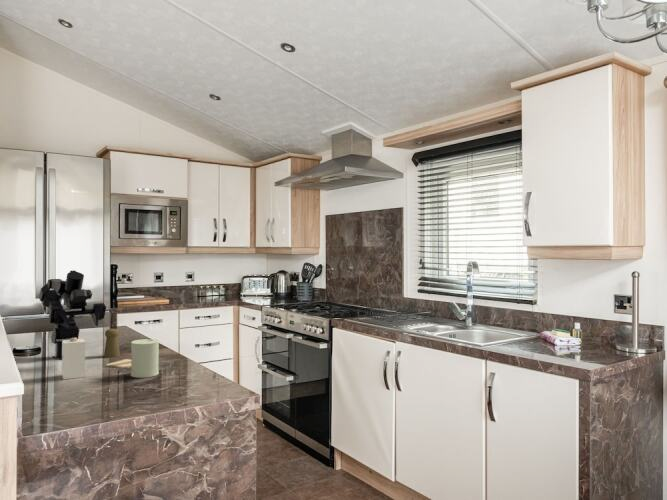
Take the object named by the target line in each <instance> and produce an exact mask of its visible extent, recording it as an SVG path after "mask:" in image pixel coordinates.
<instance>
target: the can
mask: <svg viewBox="0 0 667 500" xmlns="http://www.w3.org/2000/svg"><path fill="white" fill-rule="evenodd" d="M130 344H131V348H130V351H131V352H130V353H131V355H130V357H131V358H130V359H131V370H130V376H131V377H132V378H137V379H138V378H139V379H141V378H142V379H143V378H152V377H156V376H158V375H159V374H160V372H159V371H160V370H159V355H160V354H159V353H160V351H159V346H160V345H159V344H160V341H159V340H158V339H154V338H153V339H152V338H147V339H145V338H142V339H136V340H135V339H134V340H132V341H131V342H130Z"/></svg>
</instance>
